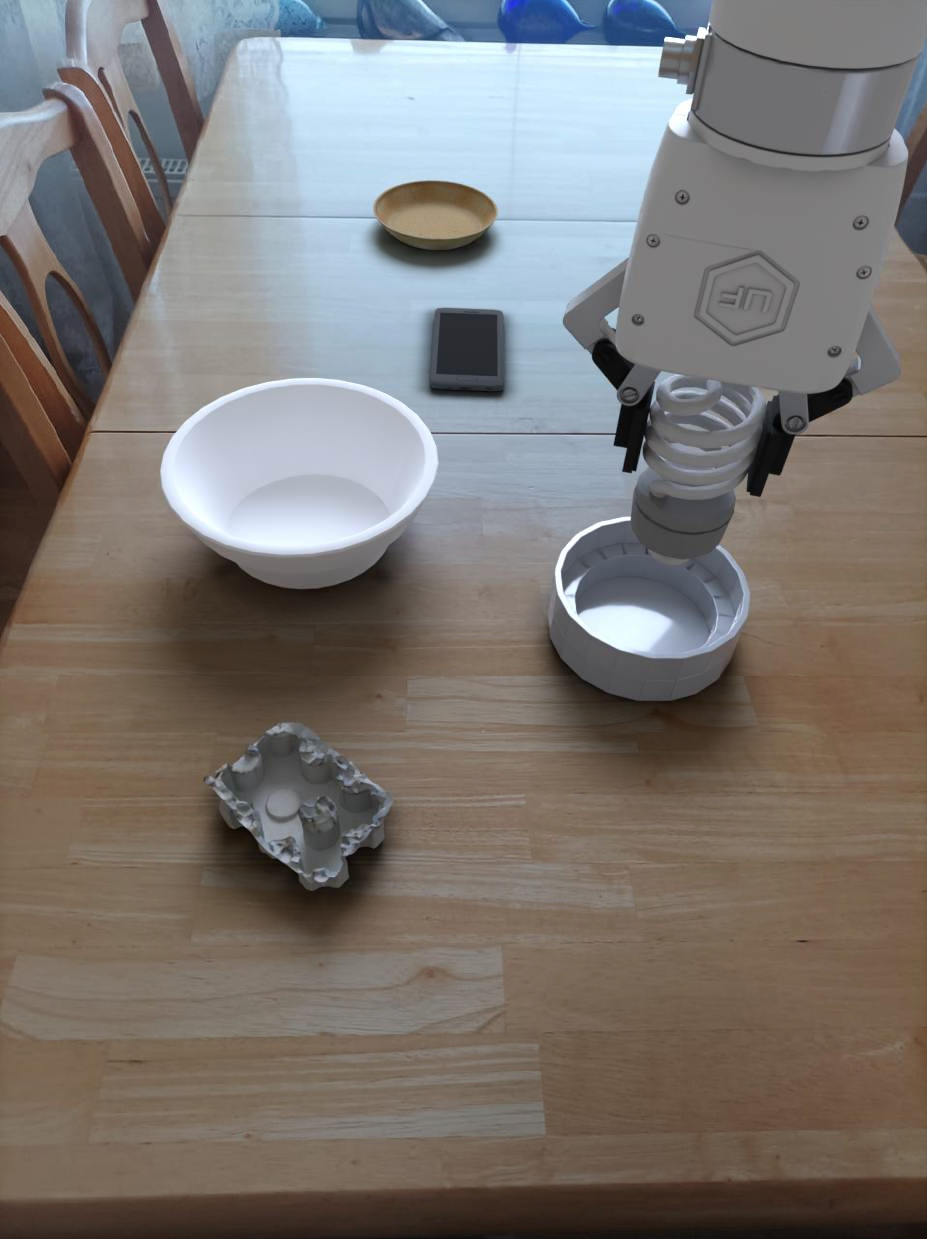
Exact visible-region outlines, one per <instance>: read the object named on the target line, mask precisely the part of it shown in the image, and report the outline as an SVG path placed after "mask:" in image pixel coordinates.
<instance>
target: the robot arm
mask: <svg viewBox="0 0 927 1239" xmlns="http://www.w3.org/2000/svg"><path fill="white" fill-rule="evenodd" d="M926 42H927V0H712V2H711V7H710V11H709V17H708V22H707V26H706V27H701V26H700V27H698V31H697V35H690V34H686V35H685V38H678V37H669V36H665V38H664V42H663V46H662V50H661V56H660V61H659V67H658V72H657V73H658V74H657V77H658V78H662V79H670V80H676V85H682V86H686V90H685V95H689V96H690V95H692V97H690V98H688V99H686V100H684V101H682V102H681V103H679V104H678V105H677V106H676V107H675V109H674V110H673V113H672V115H671V116H670V117H669V119H668V122H667V124H666V126H665V129H664V131H663V134H662V136H661V138H660V139H661V140H660V142H659V143H658V144H659V145H658V147H657V150H656V152H655V155H654V159H653V162H652V164H651V168H650V172H649V175H648V177H647V178H648V179H647V182H646V184H645V185H646V186H645V189H644V192H643V196H642V199H641V203H640V207H639V211H638V214H637V220H636V224H635V228H634V233H633V238H632V241H631V246H630V250H629V255H628V257H627V258H625V259H624V260H623V261H622V262H620V263H619V264H617V265H616V266H615V267H613V268H612V269H611V270H609V271H608V272H607V273H606V274H604V275H602V276H601V277H600V278H599V279H597V280H596V281H595V282H594V283H592V284H590V285H589V286H588V287H587V288H585V289H583V291H581V292H580V293H579V294H577V295H576V296H575V297H573V298H572V299H570V301H569V302H567V306H566V309H565V312H564V314H563V318H562V325H563V327H564V328H565V329H566V330H567V331H568V332H569V333H570V335H571V336H572V337H573V338H574V339H575V340H576V341H577V343H578V344H579V345H580V346H581V347H582V348H583V349H584V350H586V351H587V352H588V353H589V354H590V355H591V361H592V362H593V364H594V365H595V366H596V367H597V368H598V370H599V371H600V372H601V373H602V375H603V376H604V377H605V378H606V379H607V381H608V382H609V383H610V384H611V385H612V387H613V388H614V389H615V391H616V398H617V399H616V400H617V401H618V402H619V403H620V408H619V413H618V419H617V425H616V430H615V435H614V439H613V447H618V448H623V449H626V451H625V455H624V460H623V465H622V469H621V472H622V473H626V474H632V473H633V472H637V469H638V465H639V460H640V456H641V451H642V449H643V444H644V439H645V437H644V434H645V430H646V425H647V422H648V420H649V411H650V408H651V406H652V401H653V396H654V390H655V385H656V380H657V378H658V377H659V375H660V374H661V372H663V373H669V374H674V375H676V374H679V375H685V376H691V377H697V378H702V379H708V380H714V381H720V382H726V383H732V384H738V385H744V386H750V387H756V388H757V389H762V390H763V389H764V390H770V391H775V392H777V393H778V394H777V395H773V396H772V399H771V400H767V403H766V407H767V408H766V414H765V418H764V420H763V422H762V424H763V431H762V435H761V439H760V441H759V443H758V447H757V453H756V456H755V459H754V461H753V462H752V463H751V465H750V467H749V470H748V473H747V476H746V478H747V479H746V490H745V491H746V493H749V496H751V497H757V498H761V497H762V494H763V492H764V489H765V486H766V484H767V481H768V479H769V478H768V477H769V475H773V476H779V477H780V476H781V475H782V473H783V470H784V467H785V465H786V462H787V460H788V457H789V454H790V452H791V448H792V446H793V443H794V441H795V438H796V436H797V435H800V434H803V433H804V432H806V431H807V430H808V428H809V426H810V425H809V424H810V423H812V422H813V421H815V420H818V419H820V418H821V417H823V416H827V415H828V414H830V413H832V412H834V411H836V410H839V409H840V408H842V407H845V406H846V405H848V404H850V402H851V401H852V400H853V398H854V397H857V396H864V395H866V394H869V393H871V392H872V391H875V390H877V389H879V388H882V387H883V386H887V385H888V384H891V383H893V382H895V381H896V380H898V379H899V377H900V376H901V374H902V367H901V358H900V354H899V351H898V349H897V347H896V346H895V343H894V342H893V340H892V338H891V337H890V335H889V332H888V331H887V329H886V327H885V326H884V324H883V322H882V320H881V319H880V316H879V315H878V313H877V311H876V309H875V308H874V306H873V304H872V301H873V299H874V295H875V293H876V289H877V286H878V283H879V281H880V276H881V274H882V270H883V266H884V263H885V260H886V256H887V253H888V250H889V247H890V243H891V239H892V236H893V231H894V228H895V224H896V221H897V217H898V213H899V207H900V204H901V198H902V194H903V190H904V185H905V179H906V174H907V167H908V159H909V150H908V147H907V145H906V144H905V140H904V138H903V136H902V134H901V133H900V132H899V131H898V130H897V129H896V125H897V122H898V119H899V117H900V114H901V111H902V108H903V105H904V103H905V100H906V97H907V94H908V92H909V89H910V86H911V83H912V80H913V79H914V78H913V77H914V75H915V73H916V69H917V66H918V64H919V61H920V58H921V55H922V53H923V51H924V48H925V45H926ZM617 309H618V311H617V316H616V318H617V319H616V324H615V325H616V326H615V328H614V327H612V326H611V325H609V321H608V320H607V319H606V317H607V316H608V315H609V314H611V313H613V312H614V311H615V310H617ZM855 352H856V354H857V355H858V356H856V357H855V358H853V357H854V355H855Z"/></svg>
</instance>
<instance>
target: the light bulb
mask: <svg viewBox="0 0 927 1239" xmlns="http://www.w3.org/2000/svg"><path fill="white" fill-rule="evenodd" d="M683 388H684V389H686V388H694V389H695V388H697V389H701V390H706V392H701V391H695V390H680V389H683ZM676 390H677V391H676ZM655 394H656V395H655V400H654V401H653V402H652V403H651V406H650V411H649V416H648V421H647V425H646V430H645V434H644V439H645V440H644V441H643V443H642V457H643V460H644V462H645V463H646V465H647V468H646V469H644V470H643V472H641V474H640V475H639V477H638V478H637V479H636V480H637V481H636V484H635V486H634V488H633V491H632V492H633V493H632V500H631V502H632V503H631V510H630V511H631V512H630V517H631V526H632V531H633V532H634V534H635V535H636V537H637V538H638V540H639V541H640V542H641V543H642V544H643V545H644V546H646V547H647V548H648V549H649V552H650V553H651V555H652V556H653V557H654V558H655V559H657V560H658V561H659V562H661V563H664V564H667V565H677V564H683V563H684V562H686V561H688V560H689V559H693V558H697V557H700V556H703V555H705V554H708V553H710V552H711V551H712V550H714V549H715V548H716V547H717V546H718V545H720V543H721V542H722V540H723V538H724V535H725V534H726V531H727V529H728V526H729V524H730V523H731V520H732V517H733V516H734V514H735V507H736V500H737V497H736V494H735V490H734V489H736V488H737V487H738V486H739V485H741V483H742V482H743V481H744V480H745V478H747V476H748V470H749V467H750V465H751V463H752V462H753V461H754V459H755V456H756V453H757V447H758V443H759V441H760V439H761V435H762V431H763V424H762V422H763V420H764V418H765V414H766V408H767V407H766V405H767V403H766V398H765V397H764V395H763V394H762V392H761V391H760V390H759V388H757V387H750V386H744V385H738V384H732V383H726V382H720V381H714V380H708V379H702V378H697V377H691V376H685V375H679V374H674V375H671V376H668V377H666V378H665V379H664V380H662V381H661V383H659V385H658V386H657V389H656V392H655ZM721 397H724V398H725V399H727V400H729V401H730V402H732V403H733V404H732V403H730V402H728V401H727V400H725V399H723V398H721ZM736 406H737V407H736ZM707 411H711V412H713V413H715V414H718V415H719V416H720V417H722V418H724V419H725V420H727V422H726V421H724V420H722V419H721V418H719V417H717V416H714V415H713V414H710V413H707ZM728 422H729V423H730V424H729V423H728ZM682 425H690V426H695V427H698V428H701V429H703V430H695V429H690V428H687V427H685V426H682ZM731 425H732V426H731ZM675 444H679V445H682V446H686V447H690V448H691V447H692V448H697V449H700V450H702V451H700V450H698V451H697V450H690V449H685V448H682V447H678V446H677V445H675ZM727 446H728V447H727Z"/></svg>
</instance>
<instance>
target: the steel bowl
mask: <svg viewBox="0 0 927 1239" xmlns="http://www.w3.org/2000/svg"><path fill="white" fill-rule="evenodd" d="M751 597H752V596H751V592H750V588H749V585H748V582H747V578H746V575H745V572H744V571H743V570H742V568H741V567H740V565H739V564H738V562H736V560H735V559H734V557H733V556H732V554H731V553H730V552H729V551H728V550H727V549H725V548H724V547H722V545H720V544H719V545H718V546H717V547H716V548H715V549H714V550H712V551H711V552H710V553H708V554H705V555H703V556H700V557H697V558H693V559H689V560H688V561H686V562H684V563H683V564H677V565H667V564H664V563H661V562H659V561H658V560H657V559H655V558H654V557H653V556H652V555H651V553H650V552H649V549H648V548H647V547H646V546H644V545H643V544H642V543H641V542H640V541H639V540H638V538H637V537H636V535H635V534H634V532H633V531H632V526H631V516H621V517H617V518H612V519H608V520H602V521H598V522H596V523H594V524H592V525H590V526H589V527H587V528H585V529H583V530H581V531H579V532H577V533H576V534H575V535H574V536H573V537H572V538H571V539H570V540H569V542H567V543H566V544H565V546H564V547H563V548H562V549H561V550H560V553H559V556H558V558H557V561H556V565H555V567H554V570H553V577H552V583H551V589H550V597H549V604H548V609H547V623H548V624H547V625H548V633H549V638H550V641H551V643H552V644H553V645H554V646H553V647H554V649H555V650H556V651H557V653H558V656H559V658H560V659H561V660H562V661H563V662H564V663H565V664H566V665H567V667H569V668H570V669H571V670H572V671H573V672H574V673H575V674H576V675H577V676H578V677H579V678H581V679H582V680H583V681H585V682H587V683H589V684H591V685H592V686H595V687H596V688H597V689H600V690H601V691H603V692H605V693H608V694H610V695H613V696H618V697H621V698H626V699H629V700H633V701H637V702H638V701H639V702H671V701H675V700H678V699H682V698H685V697H689V696H693V695H696V694H699V693H700V692H701V691H703V690H704V689H706V688H707V687H709V686H710V685H711V684H713V683H714V682H716V681H717V680H719V679H720V677H721V675H722V674H723V673H724V671H725V669H726V668H727V667H728V665H729V663H730V662H731V660H732V658H733V655H734V653H735V650H736V647H737V646H738V642H739V640H740V637H741V635H742V632H743V630H744V627H745V625H746V622H747V620H748V617H749V610H750V603H751Z"/></svg>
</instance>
